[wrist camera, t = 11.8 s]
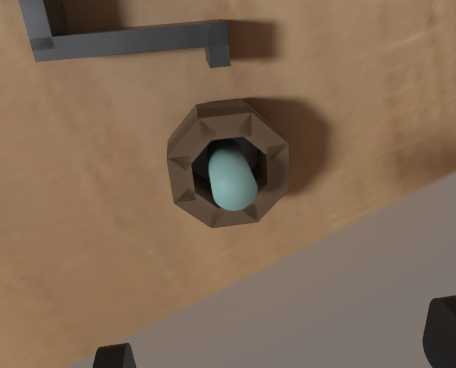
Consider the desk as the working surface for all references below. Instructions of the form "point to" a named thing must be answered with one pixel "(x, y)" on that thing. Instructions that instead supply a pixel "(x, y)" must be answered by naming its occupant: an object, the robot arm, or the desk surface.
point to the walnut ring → (221, 129)
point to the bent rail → (118, 36)
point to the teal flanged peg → (229, 171)
